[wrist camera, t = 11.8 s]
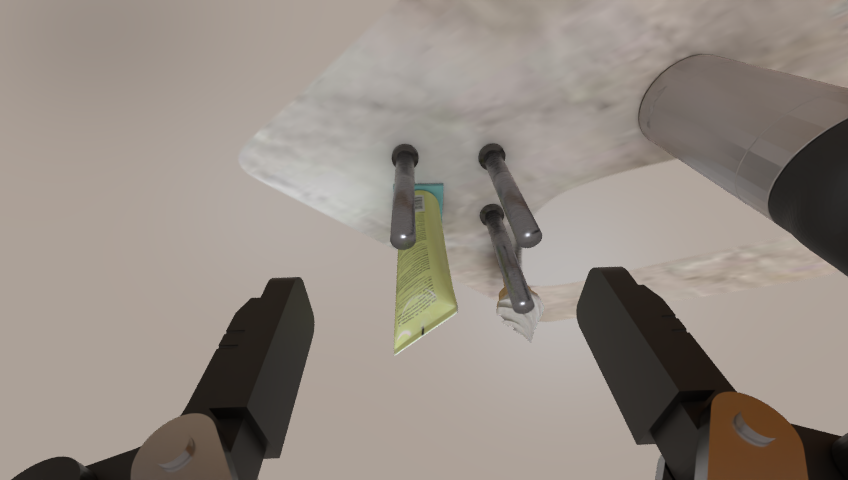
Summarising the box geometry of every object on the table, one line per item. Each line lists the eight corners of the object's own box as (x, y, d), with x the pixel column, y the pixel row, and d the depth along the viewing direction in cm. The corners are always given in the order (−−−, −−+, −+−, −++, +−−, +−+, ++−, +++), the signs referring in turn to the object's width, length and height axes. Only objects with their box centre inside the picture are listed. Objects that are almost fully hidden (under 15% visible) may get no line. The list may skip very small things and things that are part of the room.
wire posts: (514, 143, 39) (565, 221, 27) (501, 223, 46) (536, 317, 33) (391, 144, 39) (382, 224, 26) (395, 224, 46) (390, 320, 33)
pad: (442, 183, 42) (443, 185, 42) (441, 224, 46) (441, 226, 45) (393, 184, 42) (393, 186, 41) (395, 224, 46) (395, 227, 45)
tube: (438, 226, 45) (452, 356, 30) (399, 226, 45) (393, 357, 29) (440, 188, 42) (458, 311, 26) (398, 187, 42) (391, 312, 26)
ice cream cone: (487, 273, 51) (511, 363, 39) (477, 246, 48) (499, 334, 36) (524, 262, 50) (561, 350, 38) (516, 233, 47) (553, 320, 35)
